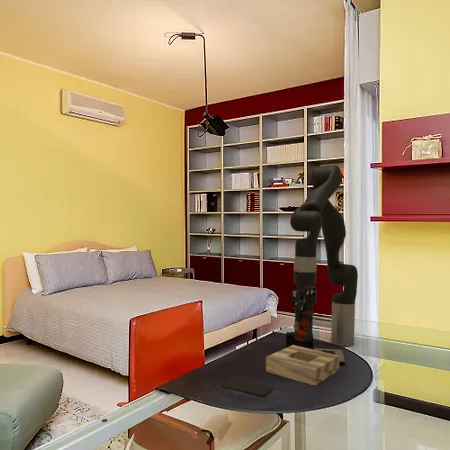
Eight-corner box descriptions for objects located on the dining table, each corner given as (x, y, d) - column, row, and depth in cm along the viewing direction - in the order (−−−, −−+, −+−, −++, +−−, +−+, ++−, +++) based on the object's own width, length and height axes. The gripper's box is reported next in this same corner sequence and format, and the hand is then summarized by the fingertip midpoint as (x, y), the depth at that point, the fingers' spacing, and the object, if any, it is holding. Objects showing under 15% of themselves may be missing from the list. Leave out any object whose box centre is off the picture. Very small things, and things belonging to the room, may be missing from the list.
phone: (231, 377, 133) (274, 387, 125) (231, 379, 133) (274, 389, 125) (219, 385, 126) (264, 395, 119) (219, 387, 126) (264, 398, 119)
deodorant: (315, 338, 141) (316, 294, 141) (306, 342, 137) (307, 296, 136) (300, 335, 145) (301, 292, 145) (290, 338, 141) (292, 294, 140)
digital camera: (312, 350, 164) (312, 332, 164) (313, 354, 159) (313, 336, 159) (285, 348, 166) (286, 330, 166) (285, 352, 160) (286, 334, 160)
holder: (292, 358, 153) (293, 345, 153) (338, 370, 142) (339, 355, 142) (265, 371, 139) (266, 356, 139) (314, 386, 128) (315, 369, 128)
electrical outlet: (344, 367, 147) (345, 360, 147) (314, 364, 149) (314, 358, 149) (341, 355, 160) (341, 349, 160) (313, 353, 162) (313, 347, 162)
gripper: (305, 267, 148) (304, 314, 149) (284, 270, 137) (283, 321, 137) (324, 269, 144) (323, 317, 144) (304, 272, 133) (303, 325, 133)
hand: (303, 319), depth 141 cm, fingers closed on deodorant, 6 cm apart
